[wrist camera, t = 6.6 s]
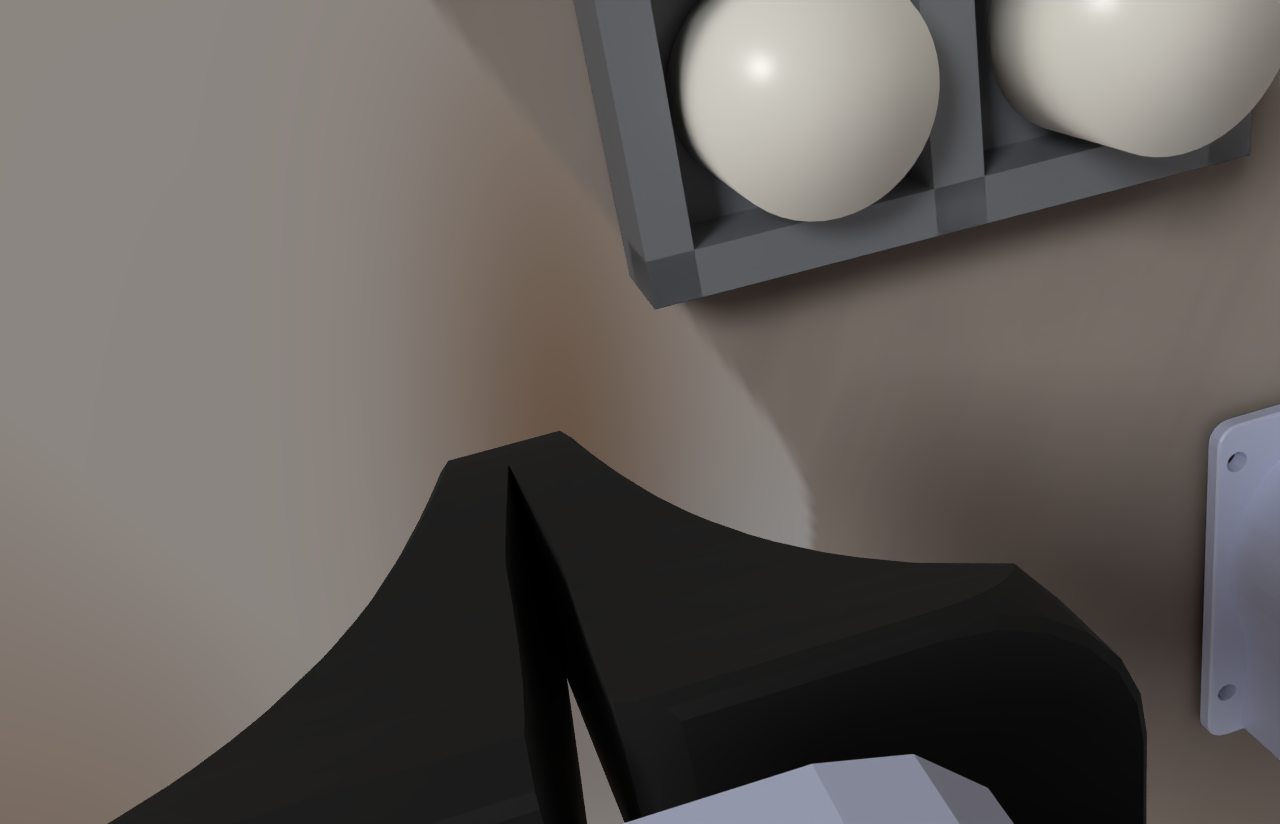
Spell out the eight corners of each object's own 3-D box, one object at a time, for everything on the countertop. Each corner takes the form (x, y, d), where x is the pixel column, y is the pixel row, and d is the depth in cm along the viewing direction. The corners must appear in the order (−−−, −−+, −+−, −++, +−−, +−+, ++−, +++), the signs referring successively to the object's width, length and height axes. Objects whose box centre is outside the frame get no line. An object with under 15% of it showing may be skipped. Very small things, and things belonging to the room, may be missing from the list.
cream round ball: (885, 163, 22) (948, 190, 19) (687, 212, 21) (727, 246, 19) (864, -59, 20) (930, -58, 18) (648, -11, 19) (685, -4, 17)
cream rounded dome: (1188, 105, 21) (1290, 126, 19) (993, 154, 21) (1072, 182, 18) (1193, -126, 19) (1305, -134, 17) (980, -79, 19) (1066, -80, 17)
